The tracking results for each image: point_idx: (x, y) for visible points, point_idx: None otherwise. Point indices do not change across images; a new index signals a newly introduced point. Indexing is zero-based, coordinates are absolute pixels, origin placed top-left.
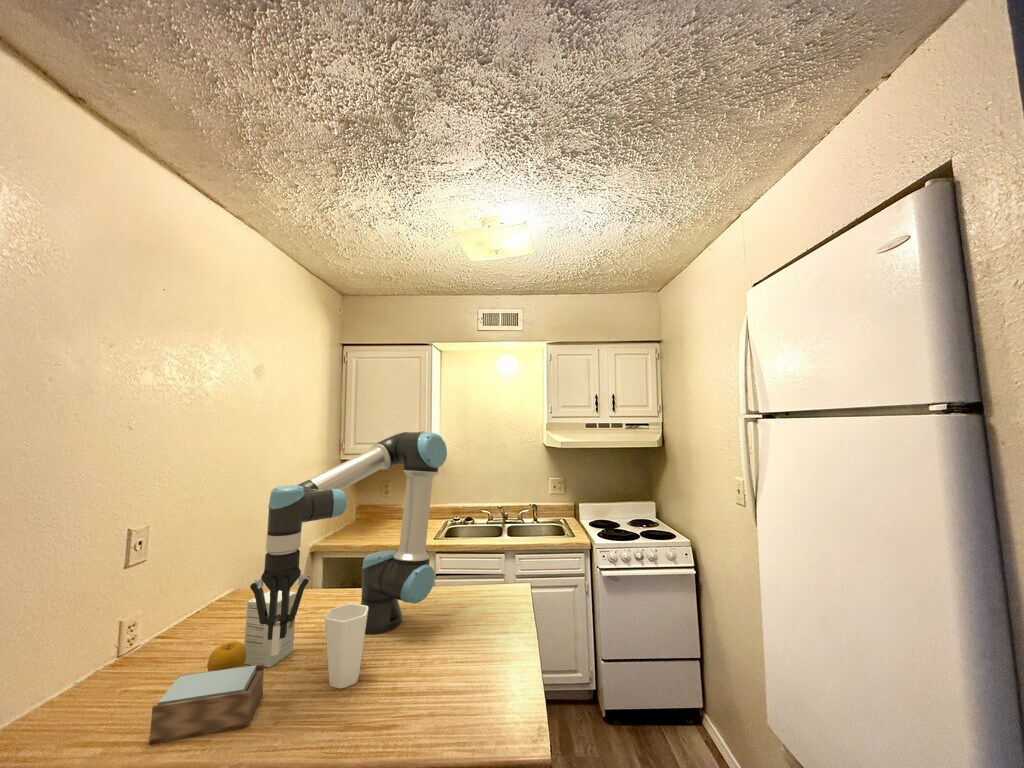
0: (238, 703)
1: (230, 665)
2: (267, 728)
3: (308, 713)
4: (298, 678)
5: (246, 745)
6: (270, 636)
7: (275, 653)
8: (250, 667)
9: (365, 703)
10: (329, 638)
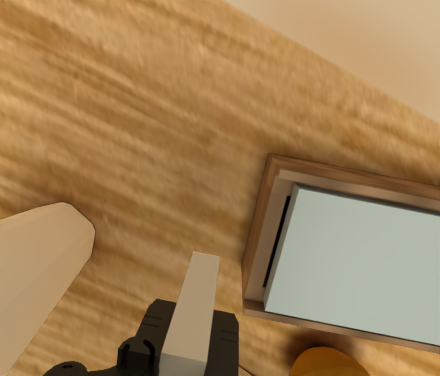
0: (302, 169)
1: (325, 369)
2: (224, 125)
3: (137, 139)
4: (167, 290)
5: (266, 81)
6: (223, 325)
7: (202, 257)
8: (281, 306)
9: (5, 113)
10: (3, 291)
